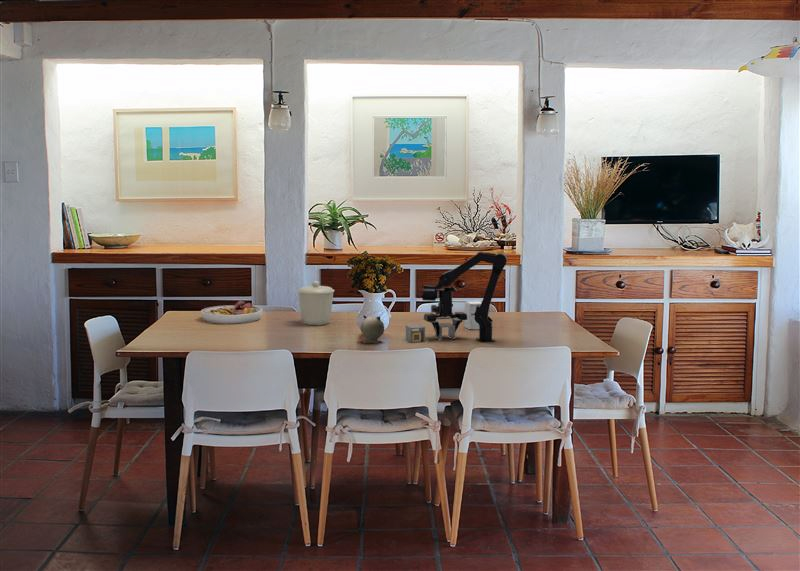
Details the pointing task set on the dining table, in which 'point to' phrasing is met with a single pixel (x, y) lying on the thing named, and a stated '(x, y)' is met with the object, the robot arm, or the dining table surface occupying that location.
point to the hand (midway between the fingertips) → (445, 335)
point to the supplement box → (471, 314)
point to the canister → (315, 304)
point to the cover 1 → (409, 332)
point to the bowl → (232, 313)
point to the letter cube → (416, 336)
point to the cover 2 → (450, 330)
